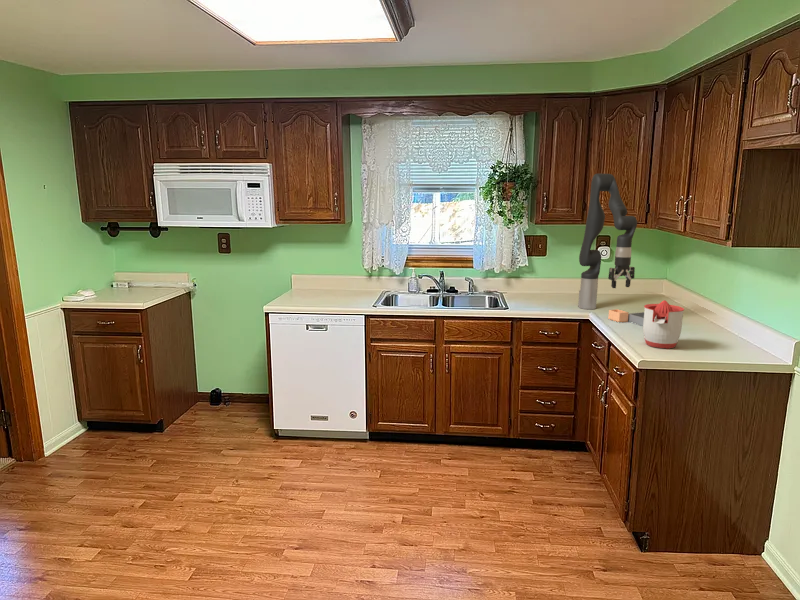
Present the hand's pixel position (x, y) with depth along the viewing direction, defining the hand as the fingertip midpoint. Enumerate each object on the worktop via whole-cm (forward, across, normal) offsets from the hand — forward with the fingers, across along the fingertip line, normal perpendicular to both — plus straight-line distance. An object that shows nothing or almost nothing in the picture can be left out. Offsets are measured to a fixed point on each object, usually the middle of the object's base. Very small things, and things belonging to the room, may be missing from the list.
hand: (620, 287), depth 285 cm
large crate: (+17, -10, +8) cm, 22 cm away
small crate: (+17, 0, 0) cm, 17 cm away
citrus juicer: (+18, +16, +44) cm, 50 cm away
